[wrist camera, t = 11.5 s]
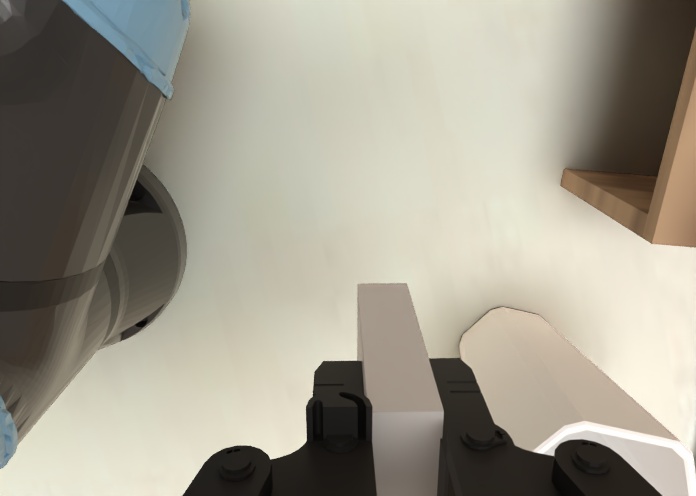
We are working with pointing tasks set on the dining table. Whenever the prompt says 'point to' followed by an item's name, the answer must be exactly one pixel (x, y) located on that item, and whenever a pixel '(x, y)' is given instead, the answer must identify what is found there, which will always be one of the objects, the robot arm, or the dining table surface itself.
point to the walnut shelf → (653, 180)
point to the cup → (567, 399)
